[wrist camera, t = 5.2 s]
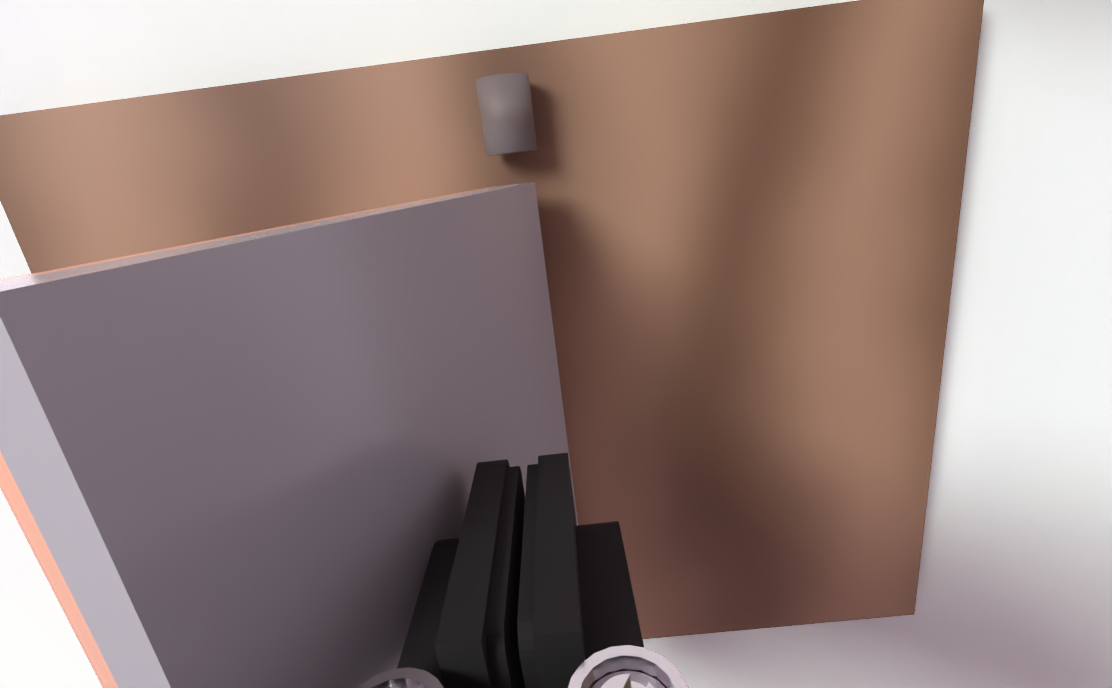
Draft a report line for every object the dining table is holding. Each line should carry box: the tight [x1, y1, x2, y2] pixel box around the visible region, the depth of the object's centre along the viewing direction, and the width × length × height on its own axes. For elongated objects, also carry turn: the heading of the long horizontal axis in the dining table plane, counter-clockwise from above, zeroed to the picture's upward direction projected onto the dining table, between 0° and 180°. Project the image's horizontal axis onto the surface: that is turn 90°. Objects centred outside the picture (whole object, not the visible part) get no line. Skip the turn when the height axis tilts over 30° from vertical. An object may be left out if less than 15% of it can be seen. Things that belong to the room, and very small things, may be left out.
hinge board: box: [0, 0, 984, 639], centre depth 15 cm, size 24×18×2 cm
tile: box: [0, 182, 578, 688], centre depth 10 cm, size 10×12×1 cm
